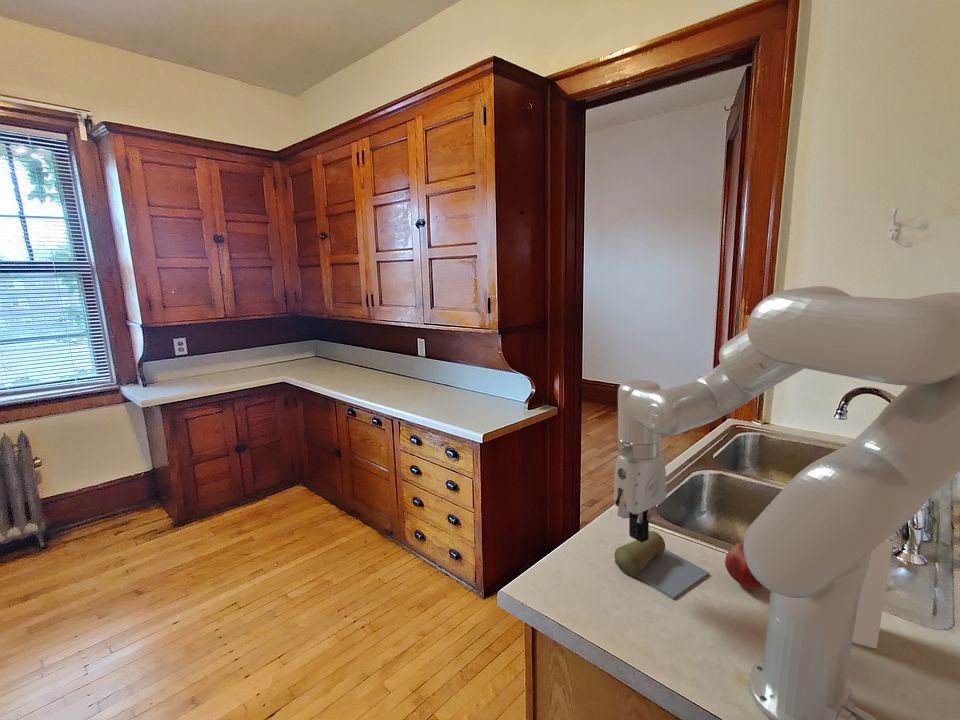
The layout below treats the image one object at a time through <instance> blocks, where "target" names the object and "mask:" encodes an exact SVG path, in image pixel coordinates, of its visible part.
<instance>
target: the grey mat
mask: <svg viewBox="0 0 960 720" xmlns="http://www.w3.org/2000/svg"><path fill="white" fill-rule="evenodd" d="M614 564H616V565H617V563H616V561H615V560H614ZM709 575H710V572H709V571H707V570H705V569H704V568H702V567H700V566H697V565H696V564H695V563H692V562H690V561H688V560H687V559H685V558H683V557H681V556H679V555H677V554H675V553H674V552H672V551H670V550H668V549H667V548H665V550H664V552H663V553H662V554H661V555H660V556H657V557H653V558H652V559H651V561H650V562H649V563H648V564H647V565H646V566H645V567H644V568H643V570H642V571H641V572H640V573H639V574H638V575H637V576H636V577H637V578H638V579H639V580H641V581H643V582H645V583H646V584H647V585H649V586H651V587H653V588H654V589H655V590H656V591H659V592H660V593H661V594H664V596H666V597H668V598H670V599H671V600H675V599H676V598H678V597H680V596H681V595H682V594H683V593H685V592H686V591H688V590H689V589H690V588H692V587H694V586H696V584H698V583H700V582H701V581H702V580H704V579H705V578H707V577H709Z"/></svg>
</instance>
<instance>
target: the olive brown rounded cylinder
mask: <svg viewBox="0 0 960 720" xmlns="http://www.w3.org/2000/svg"><path fill="white" fill-rule="evenodd" d="M665 549H666V543H665V539H664V538H663V537H662V535H661V534H660V533H658V532H657V531H654V530H653V531H652V530H649V539H648V540H646V541H644V542H643V543H642V542H640V541H638V540H636V539H635V540H634V541H631V542H629V543H627V544H624V545H621V546H618V547H617V548H616V549H615V551H614V562H615V561H616V563H617V564H616V563H615V564H616V566H617V567H618V568H619V570H620V571H621V572H622V573H623V574H624V575H626V576H629V577H637V575H638V574H639V573H640V572H641V571H642V570H643V568H644V567H645V566H646V565H647V564H648V563H649V562H650V561H651V559H652V558H653V557H657V556H660V555H661V554H662V553H663V552H664V550H665Z"/></svg>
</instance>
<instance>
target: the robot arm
mask: <svg viewBox="0 0 960 720" xmlns="http://www.w3.org/2000/svg"><path fill="white" fill-rule="evenodd" d="M718 360H719V364H718V365H717V366H715V367H714V368H712V369H711V370H710V371H708V372H706V374H704V375H701V377H699V378H697V379H695V380H693V381H692V382H690V383H685V384H684V383H683V384H680V385H677V386H672V387H668V388H663V389H662V388H661V387H660V385H659V384H658V383H657V382H655V381H652V380H648V379H647V380H646V379H630V380H626V381H623V382H622V383H620V385H619V386H618V389H617V434H618V435H617V458H616V463H615V470H614V479H613V499H614V505H615V506H616V507H618V509H617V516H618V517H620V518H621V519H628V520H629V523H628V524H629V525H628V527H629V528H628V529H629V530H628V531H629V532H628V533H629V536H630V538H632V539H634V540H635V541H636V540H638V541H640V542H642V543H643V542H644V541H646V540H648V539H649V531H650V530H649V529H650V528H649V525H650V524H649V523H650V522H649V520H651V518H652V510H653V508H654V507H656V506H658V505H660V504H661V503H663V502H664V501H665V500H666V498H667V473H666V464H665V458H664V454H663V453H664V452H662V437H663V436H664V437H671V436H675V435H678V434H681V433H685V432H687V431H690V430H693V429H695V428H700V427H702V426H705V425H708V424H710V423H712V422H714V421H717V420H718V419H720V418H722V417H724V416H726V415H728V414H730V413H731V412H733V411H734V410H737V409H738V408H740V407H742V406H744V405H745V404H747V403H749V402H750V401H751V400H753V399H755V398H757V397H760V396H761V394H763V393H765V392H766V391H768V390H769V389H771V388H772V387H774V386H776V385H778V384H780V383H782V382H783V381H785V380H786V379H789V378H791V377H792V376H794V375H796V374H797V373H799V372H801V371H803V370H810V371H811V370H812V371H816V372H820V373H821V372H822V373H827V374H832V375H837V376H842V377H843V376H844V377H849V378H853V379H858V380H864V381H868V382H873V383H874V382H875V383H880V384H888V385H895V386H905V388H904V389H903V390H902V392H900V393H899V394H898V395H897V396H896V397H895V398H893V400H892V401H891V402H889V403H888V404H887V405H886V406H885V407H884V408H883V410H882V411H881V413H880V414H879V415H878V416H877V418H875V419H874V420H873V421H872V422H871V423H870V424H869V426H867V427H866V428H865V429H864V430H863V431H862V432H861V433H860V434H859V435H858V436H856V438H854V439H853V440H852V441H851V442H849V443H848V444H846V445H845V446H843V447H840V448H839V449H837V450H834V451H832V452H831V453H829V454H827V455H824V456H822V457H821V458H819V459H816V460H815V461H813V462H812V463H809V464H808V465H807V466H805V468H802V470H801V471H799V472H798V473H797V474H796V475H795V476H793V478H792V479H791V480H790V481H789V482H788V483H787V484H786V485H785V486H784V487H783V488H782V490H780V492H778V494H777V495H776V496H775V498H773V499H772V501H771V502H770V503H769V504H768V505H767V506H766V507H765V509H763V511H762V512H761V513H760V514H759V515H758V516H757V517H756V519H755V520H753V522H752V523H751V524H750V526H748V528H747V530H746V531H745V535H744V538H743V543H744V544H743V550H744V556H745V560H746V563H747V565H748V568H749V569H750V571H751V573H752V574H753V576H754V577H755V578H756V579H757V580H758V581H759V582H760V583H761V584H762V585H763V587H764V588H766V589H768V590H769V591H770V596H769V606H768V607H769V608H768V615H767V625H766V626H767V627H766V633H765V634H766V635H765V644H764V645H765V646H764V655H763V660H762V661H759V662H757V663H756V664H755V665H754V666H753V667H752V668H751V671H750V672H749V680H748V683H749V690H750V693H751V696H752V697H753V699H754V701H755V703H756V704H757V705H758V706H759V708H760V709H761V710H762V711H763V712H764V713H765V715H766V716H767V717H768V718H769V719H771V720H877V718H876V717H874V716H873V715H871V714H870V713H868V712H867V711H864V710H862V709H860V708H858V707H857V706H856V703H854V702H853V701H852V698H853V692H854V691H853V689H852V688H850V687H848V686H847V680H848V671H849V664H850V658H851V651H852V644H853V643H852V639H853V632H854V626H855V621H856V614H857V608H858V602H859V597H860V592H861V588H862V585H863V581H864V578H865V575H866V571H867V568H868V565H869V562H870V558H871V553H872V550H873V549H875V548H876V547H877V546H878V545H879V544H881V543H882V542H883V541H884V540H886V539H887V538H889V537H891V536H892V535H893V534H894V533H896V532H897V531H898V530H900V529H901V528H902V527H903V526H905V525H906V524H907V523H908V522H909V521H910V520H912V519H913V518H914V517H915V516H916V515H917V514H918V513H919V511H920V510H921V509H922V507H923V506H924V505H925V504H926V503H927V502H928V501H929V500H930V499H931V497H932V496H933V495H935V494H936V493H937V492H938V491H939V490H940V489H942V487H944V486H945V485H946V484H947V483H948V482H950V480H952V479H953V478H954V477H956V475H957V474H958V473H960V292H955V291H954V292H940V293H933V294H929V295H922V296H918V297H911V298H892V297H891V298H888V297H887V298H886V297H869V296H868V297H867V296H866V297H865V296H852V295H850V293H848V292H846V291H843V290H842V289H839V288H836V287H832V286H828V285H825V286H824V285H816V286H815V285H814V286H813V285H812V286H807V287H806V286H805V287H799V288H790V289H785V290H779V291H777V292H775V293H772V294H770V295H768V296H766V297H765V298H763V299H762V300H761V301H760V302H758V304H756V306H755V307H754V308H753V310H752V311H751V313H750V315H749V317H748V320H747V325H746V328H745V329H743V330H742V331H741V332H739V333H738V334H736V335H735V336H734V337H731V339H729V340H727V341H726V342H725V343H724V344H723V345H721V347H720V349H719V352H718Z"/></svg>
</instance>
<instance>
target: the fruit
mask: <svg viewBox="0 0 960 720" xmlns="http://www.w3.org/2000/svg"><path fill="white" fill-rule="evenodd" d="M743 544H744V542H739V543H736V544H734V545H733V546H732V547H730V548H729V550H728V552H727V555H726V556H725V559H724V565H725V568H726V570H727V572H728V574H729V577H731V578H732V579H733V580H735V582H736V583H738V584H739V585H741V587H743V588H745V589H746V588H747V589H748V590H756V589H761V588H763V587H764V586H763V585H762V584H761V583H760V582H759V581H758V580H757V579H756V578H755V577H754V576H753V574H752V573H751V571H750V569H749V568H748V565H747V563H746V560H745V556H744V550H743Z"/></svg>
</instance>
